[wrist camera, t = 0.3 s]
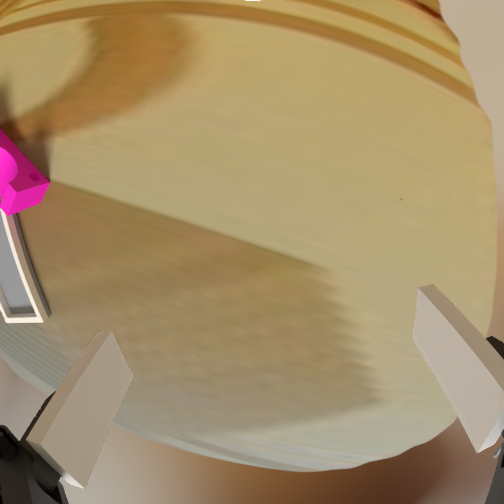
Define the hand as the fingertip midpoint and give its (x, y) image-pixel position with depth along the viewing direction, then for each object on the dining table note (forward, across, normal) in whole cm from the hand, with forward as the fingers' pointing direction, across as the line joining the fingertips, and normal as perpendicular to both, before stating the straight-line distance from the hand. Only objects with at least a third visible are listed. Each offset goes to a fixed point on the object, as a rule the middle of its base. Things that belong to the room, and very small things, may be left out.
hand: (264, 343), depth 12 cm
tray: (+25, -42, -1) cm, 49 cm away
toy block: (+25, -34, +13) cm, 45 cm away
